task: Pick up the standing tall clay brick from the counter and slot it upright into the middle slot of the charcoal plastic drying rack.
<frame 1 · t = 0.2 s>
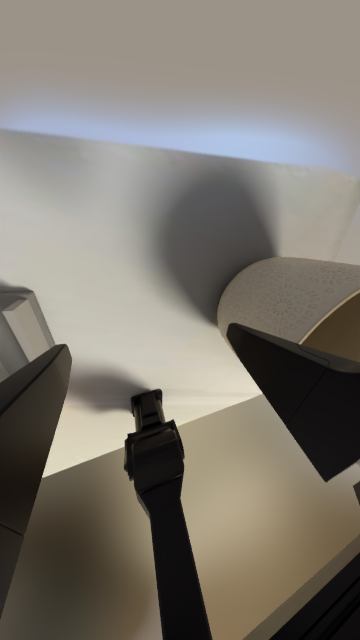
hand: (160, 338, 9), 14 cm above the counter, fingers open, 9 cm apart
planter: (245, 299, 29), on the counter
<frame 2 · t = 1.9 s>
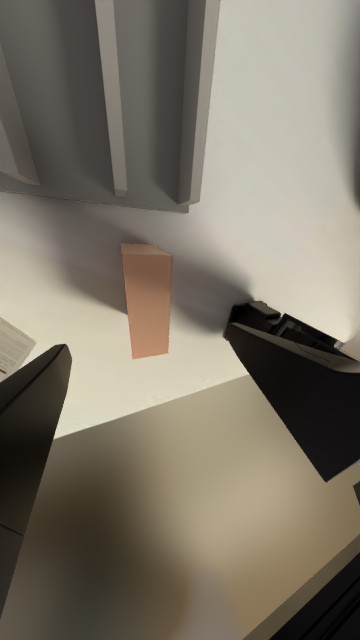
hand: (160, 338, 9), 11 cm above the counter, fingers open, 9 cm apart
tall clay brick: (138, 282, 18), on the counter
dish rack: (63, 86, 10), on the counter
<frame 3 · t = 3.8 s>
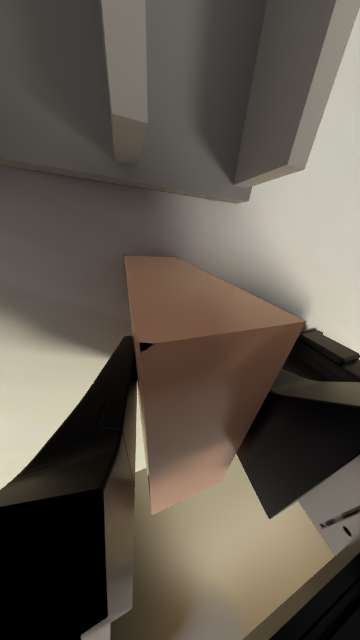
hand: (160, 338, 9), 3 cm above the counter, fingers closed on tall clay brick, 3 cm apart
tall clay brick: (152, 317, 11), on the counter, touching gripper
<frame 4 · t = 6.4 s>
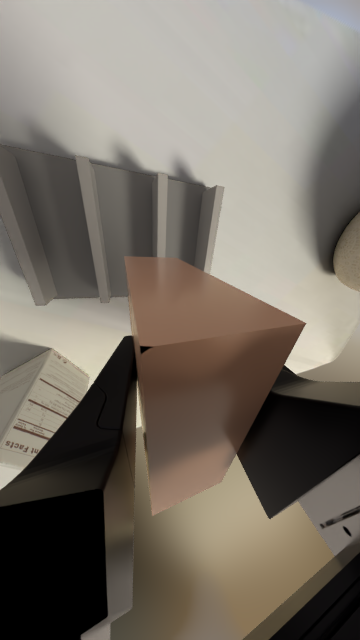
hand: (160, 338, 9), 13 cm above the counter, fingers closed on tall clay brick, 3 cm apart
tall clay brick: (152, 318, 11), point 11 cm above the counter, touching gripper
supplement box: (51, 374, 23), on the counter
planter: (354, 240, 29), on the counter
dish rack: (129, 243, 18), on the counter
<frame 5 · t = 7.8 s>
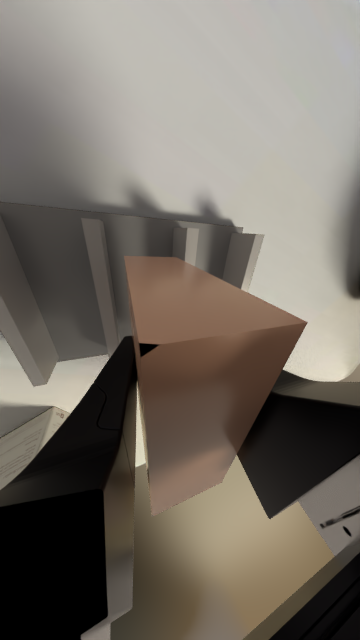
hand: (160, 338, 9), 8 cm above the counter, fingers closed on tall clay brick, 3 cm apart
tall clay brick: (152, 317, 11), point 5 cm above the counter, touching gripper
supplement box: (54, 429, 20), on the counter
dish rack: (142, 292, 15), on the counter
when the fingers open (5 cm above the counter, at t = 8.9 s): tall clay brick drops 1 cm, resting on dish rack.
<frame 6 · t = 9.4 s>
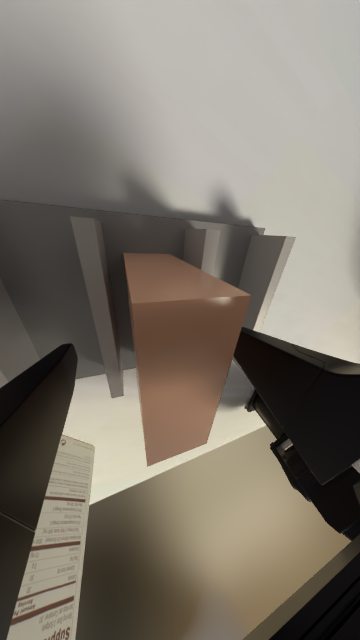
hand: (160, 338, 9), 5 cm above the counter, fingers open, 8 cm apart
tall clay brick: (149, 309, 12), point 1 cm above the counter, touching dish rack
supplement box: (47, 452, 18), on the counter
dish rack: (147, 303, 13), on the counter
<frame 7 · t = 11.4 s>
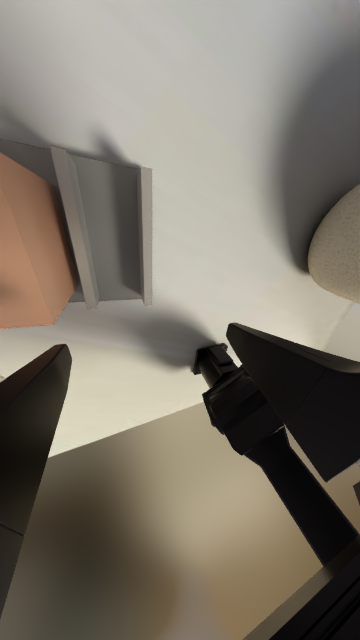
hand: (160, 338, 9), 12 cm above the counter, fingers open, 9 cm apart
tall clay brick: (47, 240, 14), point 1 cm above the counter, touching dish rack
planter: (331, 237, 26), on the counter
dish rack: (50, 239, 15), on the counter
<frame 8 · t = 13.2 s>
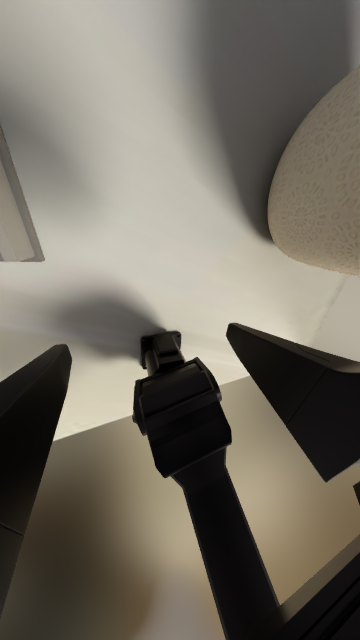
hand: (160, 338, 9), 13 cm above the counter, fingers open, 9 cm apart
planter: (299, 194, 21), on the counter
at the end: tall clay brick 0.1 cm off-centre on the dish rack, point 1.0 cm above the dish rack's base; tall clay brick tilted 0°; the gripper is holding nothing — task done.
